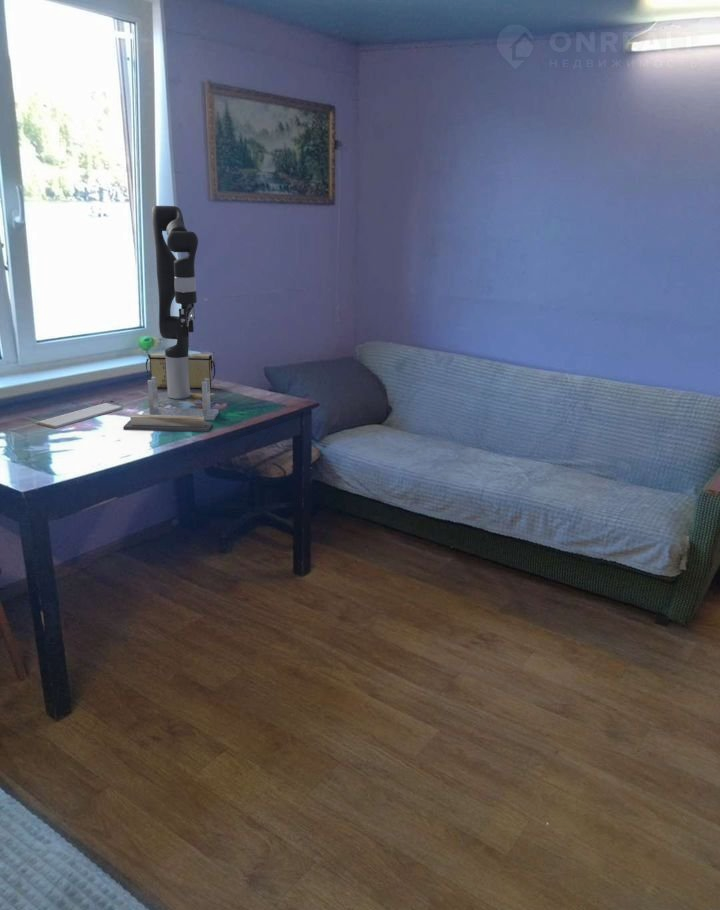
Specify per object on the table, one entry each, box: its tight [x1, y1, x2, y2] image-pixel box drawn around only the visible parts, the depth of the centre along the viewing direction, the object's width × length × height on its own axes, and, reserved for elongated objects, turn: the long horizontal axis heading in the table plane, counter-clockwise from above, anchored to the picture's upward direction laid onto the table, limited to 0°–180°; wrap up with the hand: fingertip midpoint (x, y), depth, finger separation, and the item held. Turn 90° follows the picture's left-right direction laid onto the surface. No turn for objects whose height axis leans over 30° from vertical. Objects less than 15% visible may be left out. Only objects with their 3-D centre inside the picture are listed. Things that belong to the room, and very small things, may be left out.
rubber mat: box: [123, 419, 213, 433], centre depth 253 cm, size 8×30×1 cm, turn 91°
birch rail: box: [130, 413, 206, 427], centre depth 253 cm, size 3×26×3 cm, turn 91°
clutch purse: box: [145, 353, 216, 389], centre depth 307 cm, size 30×7×15 cm, turn 94°
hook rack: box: [140, 377, 219, 421], centre depth 265 cm, size 10×27×14 cm, turn 91°
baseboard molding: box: [35, 399, 123, 429], centre depth 263 cm, size 31×3×12 cm
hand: (188, 334), depth 257 cm, fingers open, 8 cm apart
